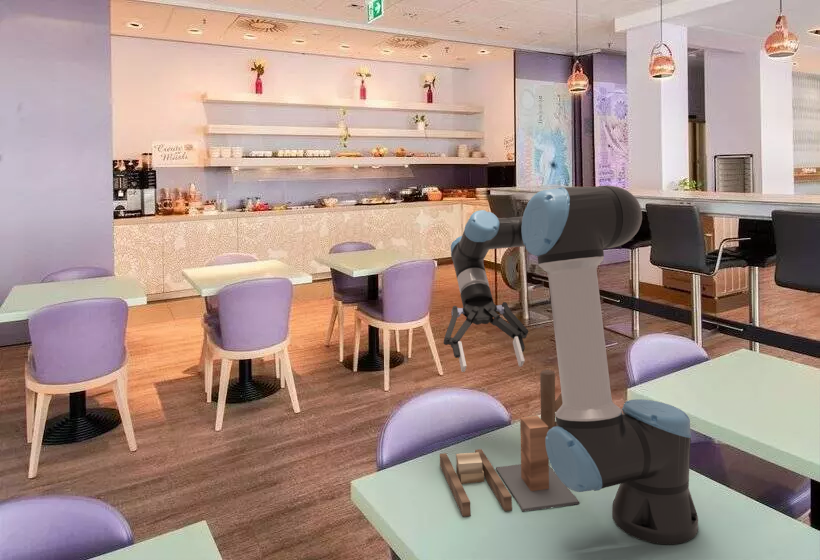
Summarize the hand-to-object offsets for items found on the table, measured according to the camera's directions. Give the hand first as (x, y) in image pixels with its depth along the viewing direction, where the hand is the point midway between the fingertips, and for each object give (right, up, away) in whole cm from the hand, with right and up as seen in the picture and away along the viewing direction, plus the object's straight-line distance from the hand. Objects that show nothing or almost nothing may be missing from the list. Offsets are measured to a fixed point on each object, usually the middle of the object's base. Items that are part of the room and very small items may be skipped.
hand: (493, 366), depth 134 cm
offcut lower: (-5, -25, -2) cm, 26 cm away
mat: (+8, -25, -7) cm, 27 cm away
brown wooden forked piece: (+19, -21, +17) cm, 33 cm away
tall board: (+8, -24, -7) cm, 26 cm away
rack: (-5, -25, -6) cm, 26 cm away
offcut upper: (-6, -23, -2) cm, 23 cm away
